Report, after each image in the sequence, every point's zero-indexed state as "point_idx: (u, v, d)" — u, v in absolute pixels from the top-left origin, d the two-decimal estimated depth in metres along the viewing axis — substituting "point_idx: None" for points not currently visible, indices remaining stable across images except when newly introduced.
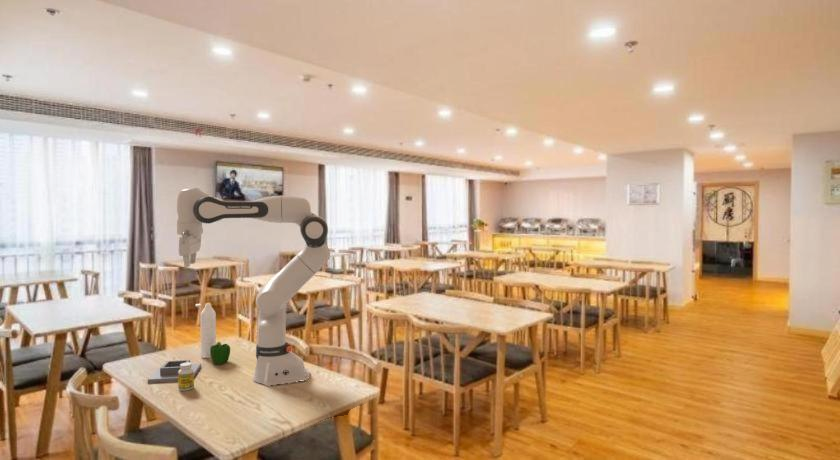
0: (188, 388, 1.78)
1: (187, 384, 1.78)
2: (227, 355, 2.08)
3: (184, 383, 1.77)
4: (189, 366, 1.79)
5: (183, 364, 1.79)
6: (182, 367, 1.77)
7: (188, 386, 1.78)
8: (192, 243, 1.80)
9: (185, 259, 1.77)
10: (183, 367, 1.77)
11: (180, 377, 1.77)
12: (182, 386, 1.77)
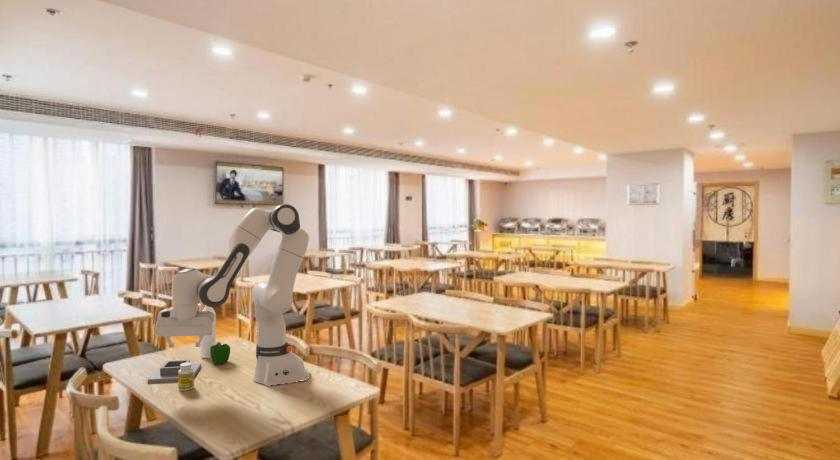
0: (188, 388, 1.78)
1: (187, 384, 1.78)
2: (227, 355, 2.08)
3: (184, 383, 1.77)
4: (189, 366, 1.79)
5: (183, 364, 1.79)
6: (182, 367, 1.77)
7: (188, 386, 1.78)
8: None
9: None
10: (183, 367, 1.77)
11: (180, 377, 1.77)
12: (182, 386, 1.77)
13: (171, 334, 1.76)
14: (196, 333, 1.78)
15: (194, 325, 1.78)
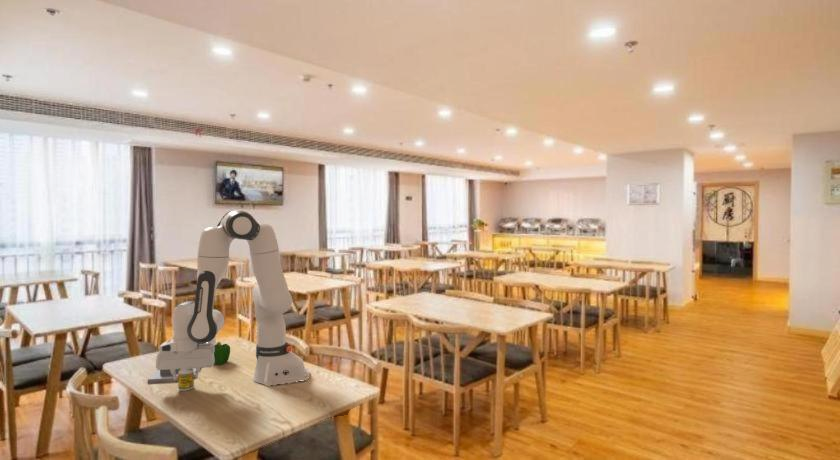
0: (188, 388, 1.78)
1: (187, 384, 1.78)
2: (227, 355, 2.08)
3: (184, 383, 1.77)
4: None
5: None
6: (182, 367, 1.77)
7: (188, 386, 1.78)
8: None
9: None
10: (183, 367, 1.77)
11: (180, 377, 1.77)
12: (182, 386, 1.77)
13: (172, 367, 1.77)
14: (197, 365, 1.79)
15: (195, 357, 1.78)
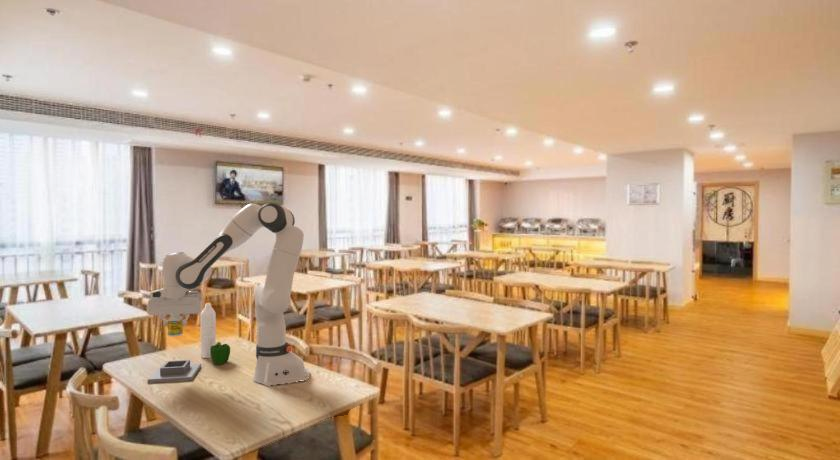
0: (177, 334, 1.91)
1: (176, 330, 1.90)
2: (227, 355, 2.08)
3: (173, 329, 1.90)
4: (178, 314, 1.91)
5: None
6: (172, 314, 1.90)
7: (177, 332, 1.91)
8: None
9: (187, 317, 1.93)
10: (172, 314, 1.90)
11: (170, 323, 1.90)
12: (171, 332, 1.90)
13: (162, 313, 1.90)
14: (185, 312, 1.91)
15: (183, 304, 1.91)
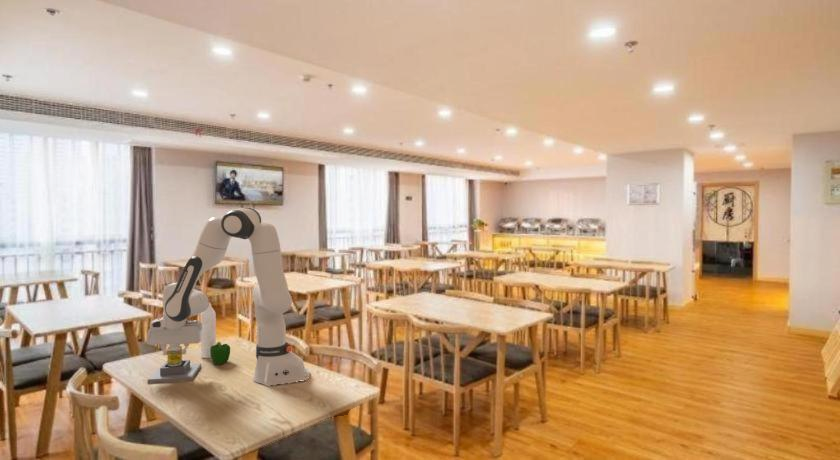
0: (176, 364, 1.91)
1: (175, 360, 1.91)
2: (227, 355, 2.08)
3: (173, 359, 1.90)
4: None
5: None
6: (171, 344, 1.91)
7: (177, 362, 1.91)
8: None
9: (187, 346, 1.94)
10: (172, 344, 1.91)
11: (169, 353, 1.90)
12: (170, 362, 1.90)
13: (162, 342, 1.90)
14: (185, 341, 1.92)
15: (183, 334, 1.92)
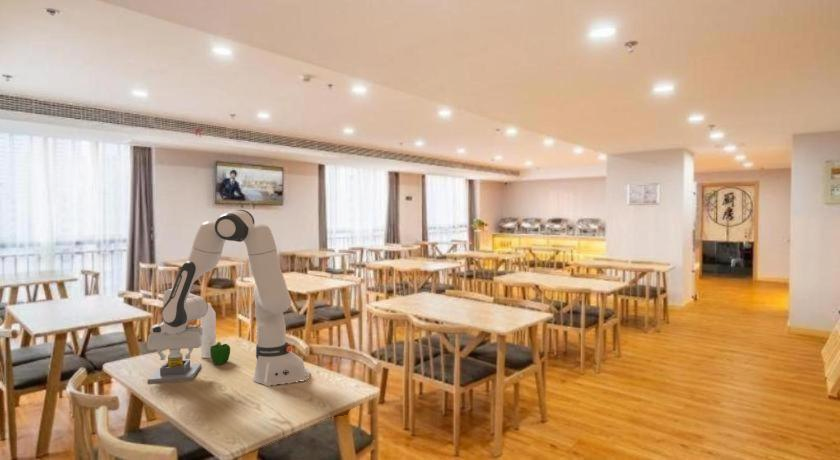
0: None
1: None
2: (227, 355, 2.08)
3: (173, 366, 1.91)
4: (178, 350, 1.92)
5: None
6: (171, 351, 1.91)
7: None
8: None
9: (191, 351, 1.94)
10: (172, 351, 1.91)
11: (170, 360, 1.91)
12: None
13: (162, 347, 1.90)
14: (186, 346, 1.92)
15: (184, 339, 1.92)
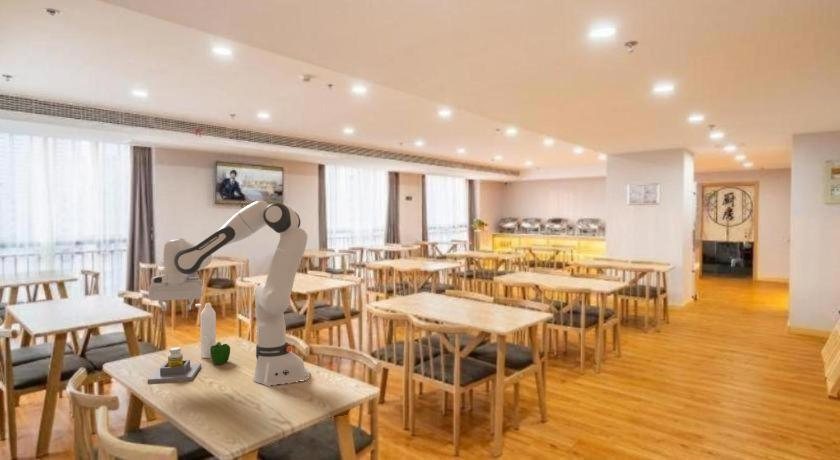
0: None
1: None
2: (227, 355, 2.08)
3: (173, 366, 1.91)
4: (178, 350, 1.92)
5: (172, 348, 1.92)
6: (172, 351, 1.91)
7: None
8: None
9: (192, 302, 1.97)
10: (172, 351, 1.91)
11: (170, 360, 1.91)
12: None
13: (163, 298, 1.93)
14: (186, 297, 1.95)
15: (184, 290, 1.95)
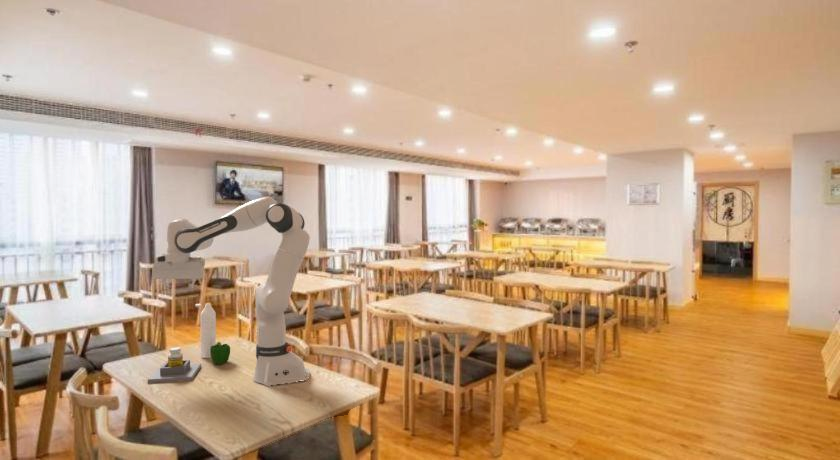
0: None
1: None
2: (227, 355, 2.08)
3: (173, 366, 1.91)
4: (178, 350, 1.92)
5: (173, 348, 1.92)
6: (172, 351, 1.91)
7: None
8: None
9: (194, 282, 2.02)
10: (172, 351, 1.91)
11: (170, 360, 1.91)
12: None
13: (167, 277, 1.98)
14: (189, 276, 2.00)
15: (187, 269, 2.00)
